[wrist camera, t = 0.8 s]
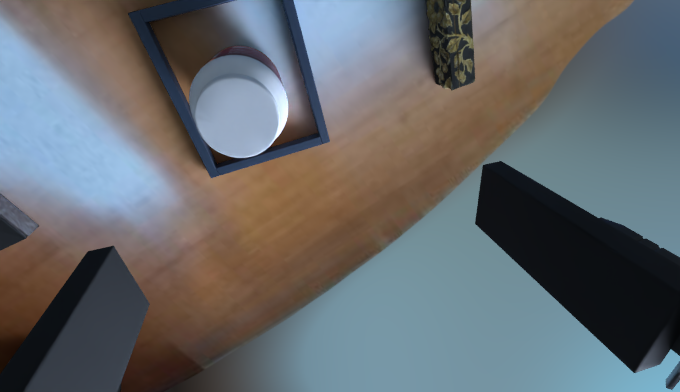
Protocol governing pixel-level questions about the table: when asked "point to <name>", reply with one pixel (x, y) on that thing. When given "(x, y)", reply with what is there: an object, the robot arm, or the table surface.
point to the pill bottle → (239, 102)
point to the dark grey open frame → (140, 19)
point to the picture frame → (13, 224)
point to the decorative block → (451, 42)
